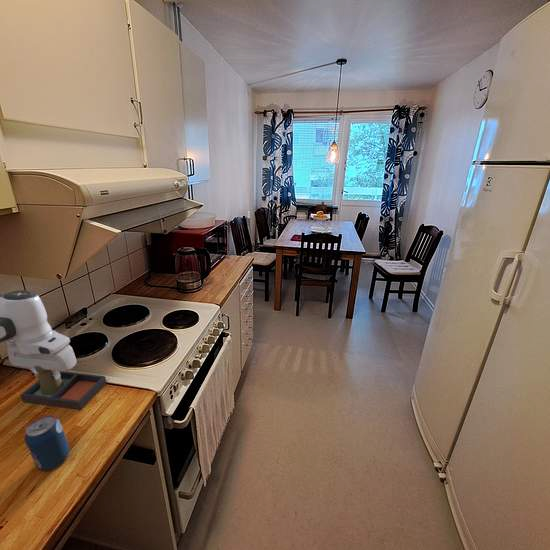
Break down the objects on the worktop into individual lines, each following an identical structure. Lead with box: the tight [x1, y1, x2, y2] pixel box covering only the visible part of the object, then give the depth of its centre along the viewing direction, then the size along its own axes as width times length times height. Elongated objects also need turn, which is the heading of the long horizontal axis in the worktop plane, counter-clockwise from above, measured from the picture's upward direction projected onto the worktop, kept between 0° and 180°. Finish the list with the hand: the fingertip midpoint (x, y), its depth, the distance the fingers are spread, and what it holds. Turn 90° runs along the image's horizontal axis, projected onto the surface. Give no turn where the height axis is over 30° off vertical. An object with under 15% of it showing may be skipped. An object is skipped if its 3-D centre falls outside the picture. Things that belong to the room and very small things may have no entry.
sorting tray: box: [19, 371, 108, 411], centre depth 92 cm, size 20×12×3 cm, turn 82°
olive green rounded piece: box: [35, 366, 64, 395], centre depth 91 cm, size 6×6×11 cm
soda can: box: [23, 414, 71, 472], centre depth 70 cm, size 7×7×12 cm
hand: (48, 377), depth 91 cm, fingers closed on olive green rounded piece, 4 cm apart
